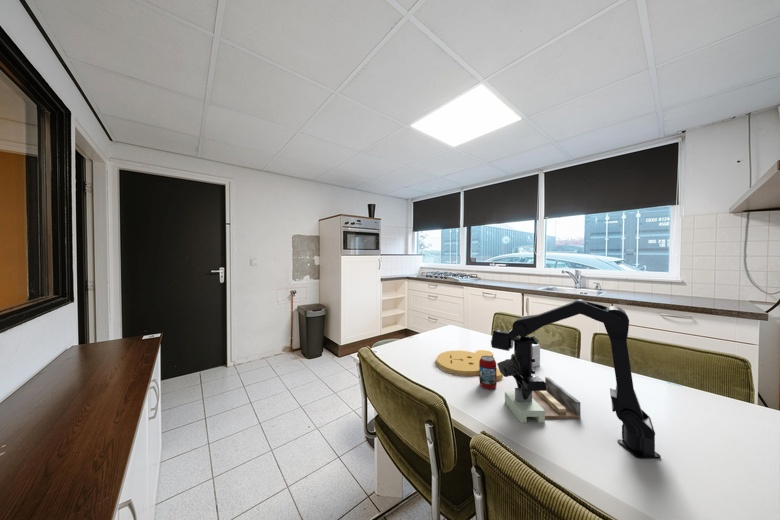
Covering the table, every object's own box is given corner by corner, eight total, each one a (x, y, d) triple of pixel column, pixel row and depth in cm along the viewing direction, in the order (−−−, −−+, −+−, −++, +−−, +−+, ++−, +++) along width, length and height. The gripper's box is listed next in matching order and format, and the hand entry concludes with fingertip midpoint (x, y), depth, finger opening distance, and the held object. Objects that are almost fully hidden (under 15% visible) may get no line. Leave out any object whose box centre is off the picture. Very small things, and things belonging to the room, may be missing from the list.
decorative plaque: (435, 377, 118) (505, 382, 112) (435, 371, 118) (504, 376, 112) (437, 352, 149) (491, 355, 143) (437, 347, 149) (491, 350, 143)
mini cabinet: (544, 422, 85) (544, 398, 84) (520, 422, 85) (520, 398, 85) (526, 401, 97) (526, 380, 96) (504, 402, 97) (504, 381, 97)
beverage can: (478, 388, 107) (478, 359, 107) (480, 380, 113) (480, 354, 113) (495, 391, 104) (495, 362, 104) (497, 384, 110) (497, 356, 110)
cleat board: (580, 418, 86) (580, 402, 86) (544, 418, 87) (544, 402, 86) (548, 390, 104) (548, 377, 104) (518, 390, 105) (518, 377, 104)
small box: (518, 361, 133) (518, 341, 133) (526, 359, 135) (525, 339, 135) (532, 367, 125) (532, 346, 125) (540, 365, 128) (540, 344, 128)
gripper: (490, 344, 100) (490, 384, 100) (512, 365, 81) (512, 413, 81) (519, 344, 100) (519, 384, 100) (547, 364, 81) (548, 413, 81)
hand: (523, 397), depth 91 cm, fingers closed on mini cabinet
